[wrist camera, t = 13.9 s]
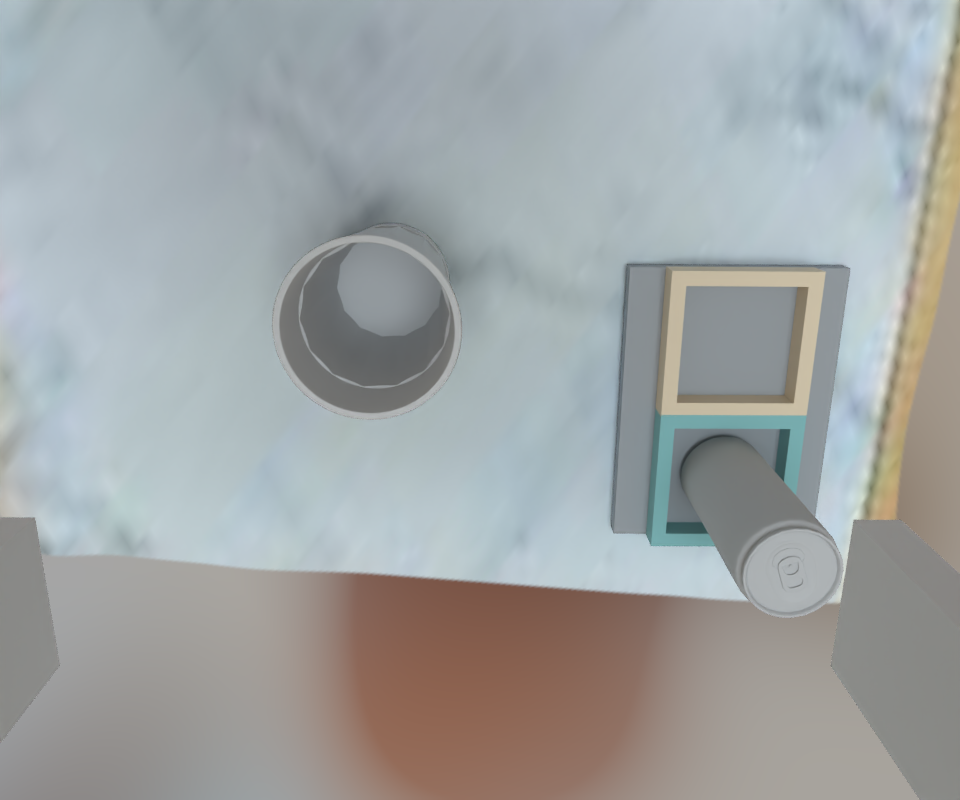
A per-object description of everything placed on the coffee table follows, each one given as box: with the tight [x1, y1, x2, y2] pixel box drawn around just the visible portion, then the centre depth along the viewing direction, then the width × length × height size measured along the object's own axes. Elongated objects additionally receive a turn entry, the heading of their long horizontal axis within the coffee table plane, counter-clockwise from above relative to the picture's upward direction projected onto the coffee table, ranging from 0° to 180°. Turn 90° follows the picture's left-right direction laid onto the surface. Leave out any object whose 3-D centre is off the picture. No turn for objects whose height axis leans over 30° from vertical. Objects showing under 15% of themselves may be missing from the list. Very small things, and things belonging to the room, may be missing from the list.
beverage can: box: [681, 436, 843, 618], centre depth 44 cm, size 5×5×12 cm
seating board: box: [611, 264, 850, 546], centre depth 48 cm, size 16×12×2 cm
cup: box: [272, 223, 462, 420], centre depth 41 cm, size 8×8×12 cm
